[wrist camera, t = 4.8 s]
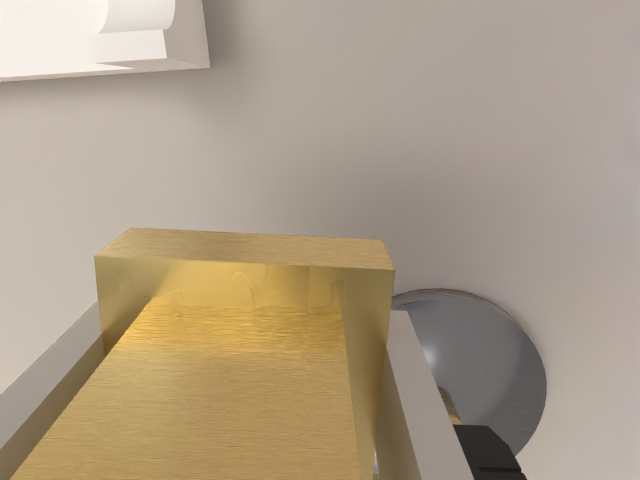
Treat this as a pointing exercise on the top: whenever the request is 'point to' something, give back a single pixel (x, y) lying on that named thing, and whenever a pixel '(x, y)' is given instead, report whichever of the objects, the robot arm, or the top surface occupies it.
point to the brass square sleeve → (229, 361)
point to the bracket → (100, 37)
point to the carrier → (478, 362)
